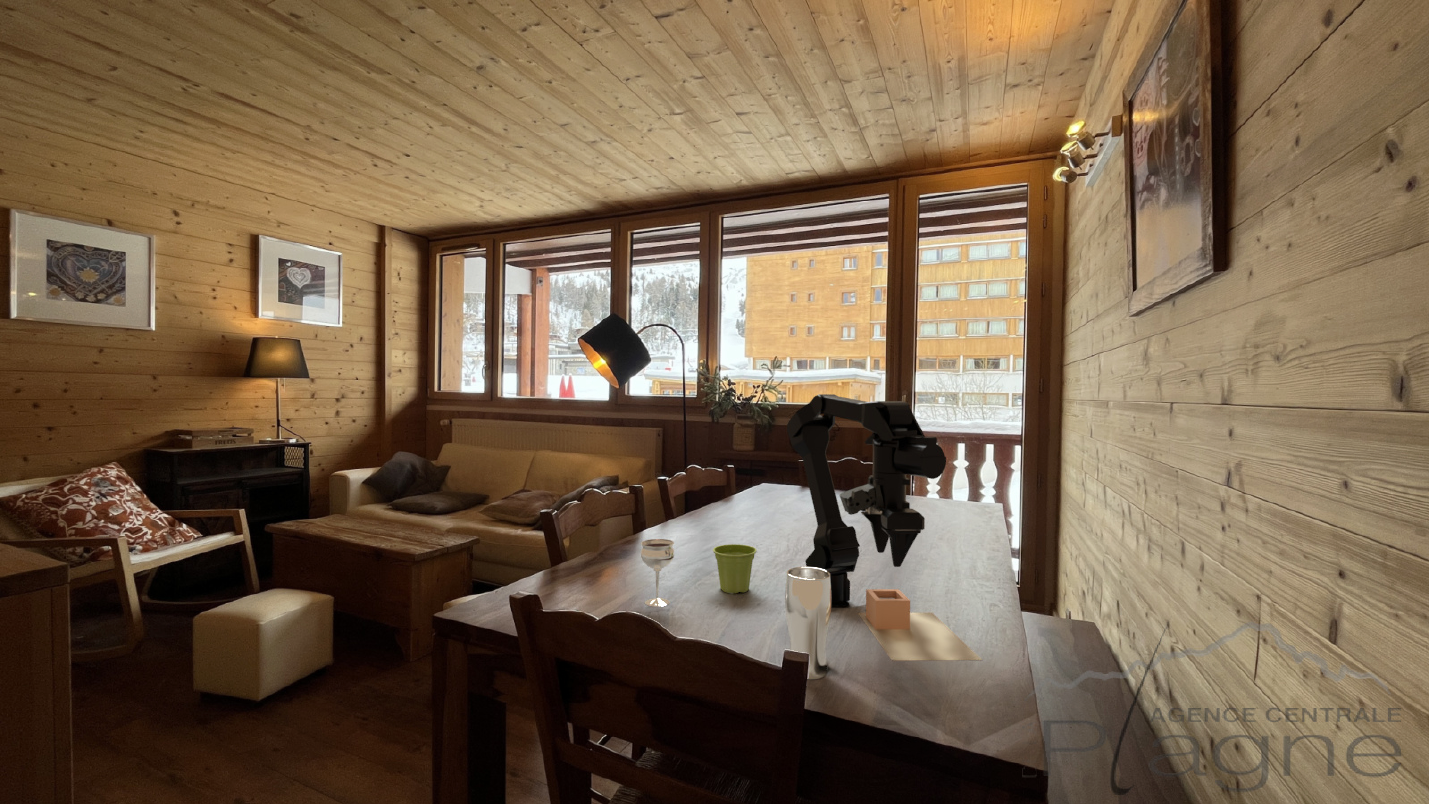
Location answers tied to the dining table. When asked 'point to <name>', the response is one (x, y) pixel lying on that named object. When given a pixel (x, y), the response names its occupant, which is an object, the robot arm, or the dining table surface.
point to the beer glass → (809, 614)
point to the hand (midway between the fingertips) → (888, 559)
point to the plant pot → (734, 566)
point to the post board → (921, 640)
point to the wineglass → (657, 562)
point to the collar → (887, 609)
